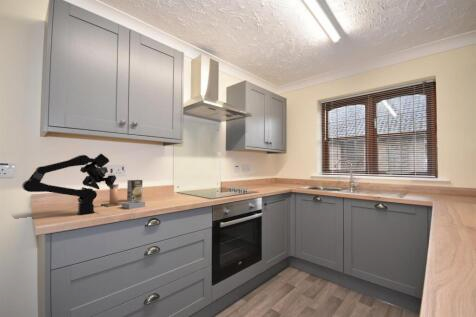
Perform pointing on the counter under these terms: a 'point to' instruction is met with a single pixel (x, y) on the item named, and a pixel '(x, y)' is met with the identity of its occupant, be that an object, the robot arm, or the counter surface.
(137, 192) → the coffee box
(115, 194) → the jar
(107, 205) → the trivet
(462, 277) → the counter surface
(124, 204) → the holder
